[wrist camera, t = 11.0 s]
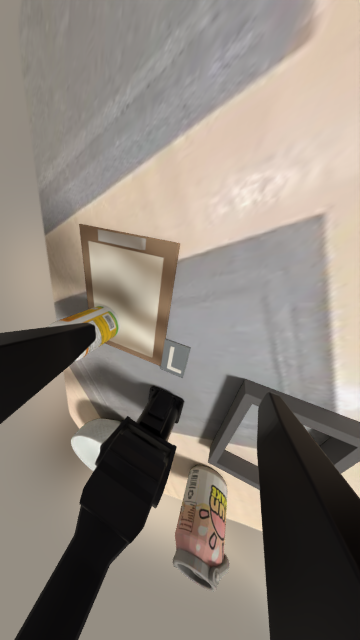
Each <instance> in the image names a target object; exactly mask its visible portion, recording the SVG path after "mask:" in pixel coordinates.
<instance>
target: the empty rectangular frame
mask: <svg viewBox="0 0 360 640" xmlns="http://www.w3.org/2000/svg"><path fill="white" fill-rule="evenodd" d="M267 392H272V393H275V394H277V395H279V396H280V397H281V398H282V399H283V400H284V402H285V403H286V404H287V406H288V407H289V408H290V409H291V411H292V412H293V413H294V415H295V416H296V417H297V418H298V420H299V421H300V422H301V424H303V425H305V426H307V427H310V428H312V429H315V430H317V431H320V432H322V433H324V434H327V435H329V436H331V437H330V438H329V439H328V440H327V441H326V442H324V443H323V444H322V445H321V446H320V448H321V449H322V451H323V452H324V453H325V454H326V456H327V457H328V458H329V460H330V461H331V462H332V463H333V465H334V466H335V467H336V469H337V470H338V471H339V472H340V474H341V473H343V472H344V471H346V470H347V469H349V468H350V467H352V466H353V465H355V464H356V463H358V462H359V461H360V422H358V421H355V420H352V419H350V418H347V417H344V416H342V415H339V414H336V413H334V412H331V411H328V410H326V409H323V408H321V407H318V406H315V405H313V404H310V403H307V402H305V401H302V400H299V399H297V398H294V397H292V396H289V395H286V394H284V393H281V392H278V391H276V390H273V389H270V388H268V387H265V386H263V385H260V384H257V383H255V382H252V381H249V380H247V379H245V380H244V382H243V384H242V386H241V388H240V390H239V392H238V394H237V396H236V398H235V400H234V402H233V404H232V406H231V408H230V409H229V411H228V413H227V415H226V417H225V419H224V421H223V423H222V425H221V427H220V429H219V431H218V433H217V435H216V437H215V439H214V441H213V443H212V445H211V447H210V453H209V459H208V463H210V464H212V465H214V466H216V467H218V468H219V469H221V470H223V471H225V472H227V473H229V474H231V475H232V476H234V477H236V478H238V479H240V480H242V481H244V482H246V483H247V484H249V485H251V486H253V487H255V488H257V489H259V490H260V486H259V471H258V467H257V466H255V465H253V464H251V463H249V462H247V461H245V460H243V459H242V458H240V457H238V456H236V455H234V454H232V453H230V452H228V451H226V450H225V448H226V446H227V445H228V443H229V441H230V440H231V438H232V436H233V435H234V433H235V431H236V430H237V428H238V426H239V425H240V423H241V421H242V420H243V418H244V416H245V415H246V413H247V411H248V410H249V408H250V406H251V405H252V404H254V405H256V406H259V404H260V402H261V401H262V399H263V398H264V396H265V394H266V393H267Z"/></svg>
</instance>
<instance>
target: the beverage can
mask: <svg viewBox="0 0 360 640" xmlns="http://www.w3.org/2000/svg"><path fill="white" fill-rule="evenodd" d="M226 507H227V485H226V483H225V481H224V479H223V478H222V476H221V475H220V474H219V473H217V472H216V471H214V470H213V469H211V468H209V467H206V466H201V465H198V466H195V467H193V468H192V469H191V470H190V472H189V476H188V481H187V485H186V489H185V493H184V498H183V502H182V506H181V511H180V515H179V519H178V524H177V528H176V532H175V539H176V549H177V550H176V553H175V556H174V558H173V565H174V567H176V568H178V569H179V570H180V571H181V572H182V573H183V574H184V575H185V576H187V577H188V578H189V579H190V580H192V581H194V582H195V583H196V584H198V585H199V586H201V587H203V588H205V589H207V590H209V591H213V592H214V591H215V590H216V587H217V585H218V583H219V581H220V578H222V576H224V575H225V574H226V573H227V572H228V569H229V560H228V559H227V556H226V555H225V554H224V543H225V525H226Z"/></svg>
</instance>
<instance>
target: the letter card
mask: <svg viewBox="0 0 360 640" xmlns="http://www.w3.org/2000/svg"><path fill="white" fill-rule="evenodd" d="M189 352H190V347H187V346H184V345H182V344H179V343H176V342H173V341H171V340H168V339H165V342H164V349H163V355H162V362H161V369H162V370H164V371H167V372H169V373H172V374H174V375H176V376H179V377H181V378H183V376H184V372H185V368H186V364H187V360H188V356H189Z"/></svg>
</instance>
